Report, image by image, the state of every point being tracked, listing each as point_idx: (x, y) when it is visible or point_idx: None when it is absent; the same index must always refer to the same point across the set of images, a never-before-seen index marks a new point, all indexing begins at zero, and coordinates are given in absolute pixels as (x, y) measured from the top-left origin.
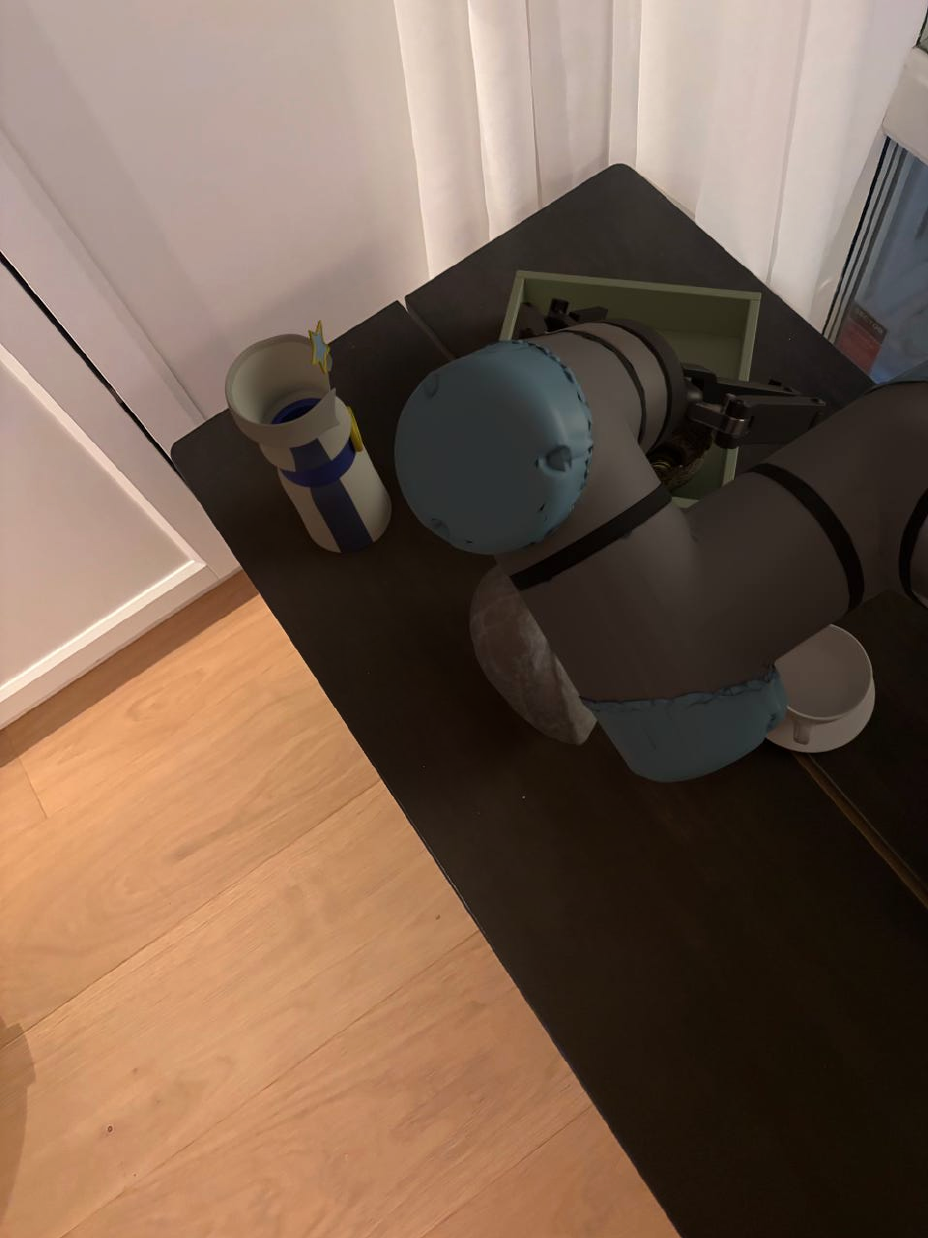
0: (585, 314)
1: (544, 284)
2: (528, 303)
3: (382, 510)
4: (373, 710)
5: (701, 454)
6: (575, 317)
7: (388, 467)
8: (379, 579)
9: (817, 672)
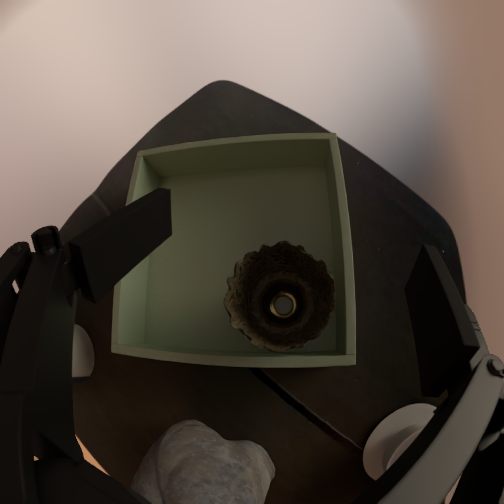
0: (100, 232)
1: (158, 156)
2: (12, 249)
3: (82, 361)
4: (124, 481)
5: (324, 325)
6: (77, 249)
7: (87, 317)
8: (99, 402)
9: (416, 436)
